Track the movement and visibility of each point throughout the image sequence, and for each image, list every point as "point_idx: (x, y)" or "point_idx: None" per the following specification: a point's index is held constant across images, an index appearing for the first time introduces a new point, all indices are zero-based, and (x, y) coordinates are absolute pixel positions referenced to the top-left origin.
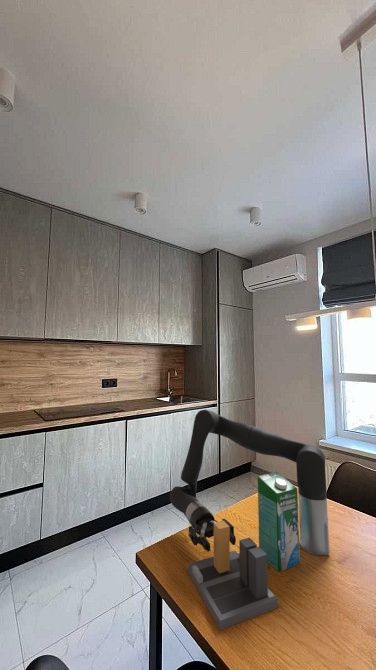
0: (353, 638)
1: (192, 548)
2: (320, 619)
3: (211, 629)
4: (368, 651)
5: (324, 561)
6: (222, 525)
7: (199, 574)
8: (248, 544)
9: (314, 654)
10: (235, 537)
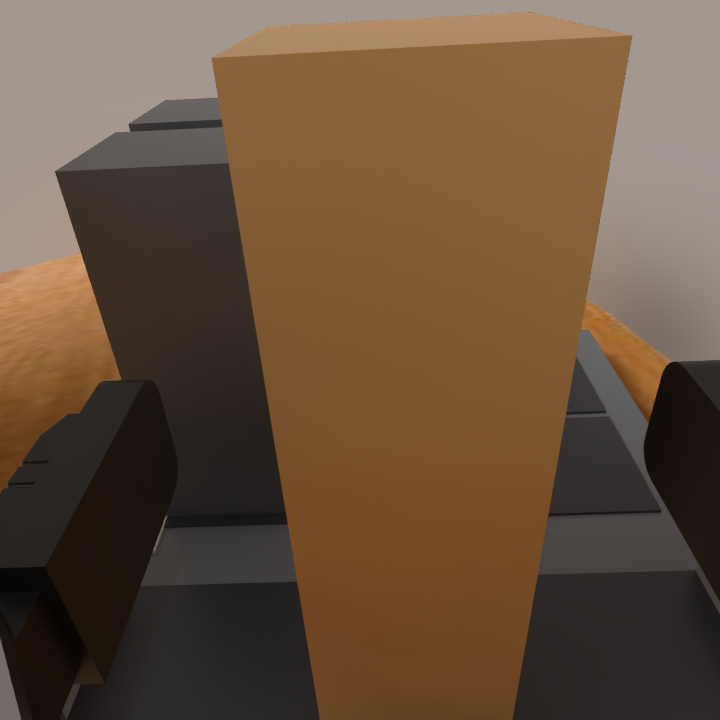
0: (79, 272)
1: None
2: (89, 319)
3: (631, 381)
4: None
5: None
6: (396, 29)
7: None
8: (191, 137)
9: None
10: (72, 414)
